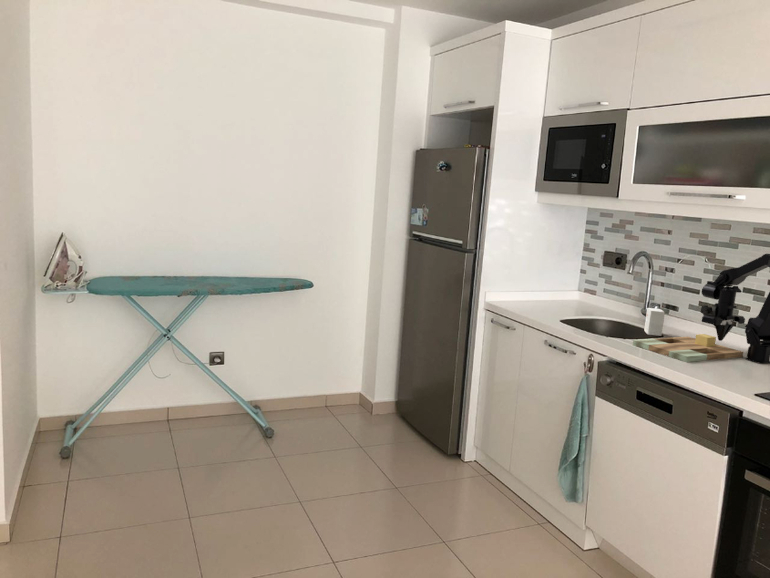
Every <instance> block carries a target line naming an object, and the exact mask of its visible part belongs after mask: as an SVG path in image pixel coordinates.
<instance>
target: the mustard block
mask: <svg viewBox="0 0 770 578" xmlns="http://www.w3.org/2000/svg"><path fill="white" fill-rule="evenodd" d="M716 340H717V336H712V335H709V334H707V333H702V334H700V333H699V334H695V343H696V344H699V345H703V346H715V344H716Z"/></svg>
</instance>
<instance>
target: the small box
mask: <svg viewBox="0 0 770 578" xmlns="http://www.w3.org/2000/svg"><path fill="white" fill-rule="evenodd" d="M645 314H646V315H645V323H644V332H645V333H646V334H647V335H648V336H657V337H659V336H660V337H662V335H663V327H664V321H665V314H666V313H665V311H664V310H662V309H661V308H654V307H646V313H645Z"/></svg>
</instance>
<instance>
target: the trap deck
mask: <svg viewBox="0 0 770 578" xmlns="http://www.w3.org/2000/svg"><path fill="white" fill-rule="evenodd" d="M695 339H696V337H695V338H694V337H691V336H677V337H659V338H658V337H657V338H645V339H643V338H642V339H633V340H632V346H635V347H637V348H641V349H644V350H648V351H650V352H654V353H656V354H660V355H662V356H666V355H667V356H666V357H669V356H670V358H672V357H673V359H675V358H676V359H677V360H679V361H682V362H685V363H690V361H692V362H702V361H711V360H712V361H713V360H724V359H733V358H735V359H737V358H743V357H744V351H742V350H739V349H734V348H731V347H728V346H724V345H720V344H717V343H715V346H703V345H699V344H696V343H695Z"/></svg>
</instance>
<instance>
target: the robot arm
mask: <svg viewBox="0 0 770 578" xmlns="http://www.w3.org/2000/svg"><path fill="white" fill-rule="evenodd" d="M767 268H769V269H770V253H764V254H762V256H759V257H758V258H755V259H753V260H751V261H749V262H747V263H745V264H743V265H741V266H738V267H732V268H728V269H724V270H722V271H720V272H719V275H718V276H717V277H716V278H715V280H714V281H713V280H707V281H706V284H704V285H703V286H702V288H701V294H702V296H703V297H704V298H708V299H712V300H716V301H717V302H715V303H714V305H713V306H710V307H709V305H702V306H700V313H701V314H702V315H703V316H702V317H701V322H702V323H705V324H709V325H713V326H714V327H715V331H716V335H717V336H716V337H717V340H718V341H720V342H723V340H724V339H725V337H726V336H727V334H729V332H730V331H731V330H732V329H733V328H734V327H735V325H736V324H734V323H733V322H736V323H738V324H740V325H742V324H743V325H744V324H745V322H746V319H745V317H744V315H739V314H734V310H735V309H737V306H738V305H735V304H736V303H735V302H736V297H737V293H742V292H743V291H742V290H741V289H740V287H739V285H740V284H741V283H744V281H746V279H747V278H748V277H749V276H751V275H754V274H756V273H759V272H761V271H763V270H764V269H767ZM744 327H745V329H744V333H745V336H746V343H747V345H749V346H748V348H747V352H746V353H747V354H746V357H745V358H744V359H745V360H747V361H749V362H754V363H757V364H770V291H769V292H768V294H767V296H766V298H765V300H764V302H763V305H762V307H761V308H760V310H759V312H758V315H757V316H756V317H749V318H748V320H747V323H746V325H745V326H744Z"/></svg>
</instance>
